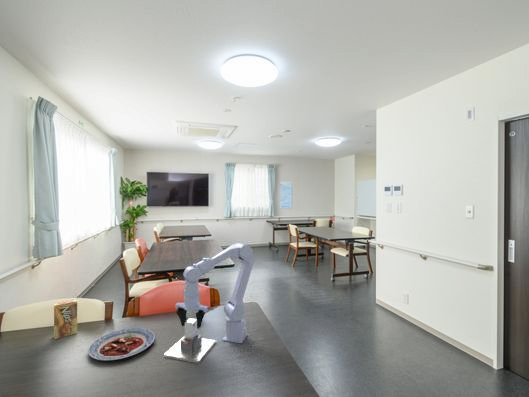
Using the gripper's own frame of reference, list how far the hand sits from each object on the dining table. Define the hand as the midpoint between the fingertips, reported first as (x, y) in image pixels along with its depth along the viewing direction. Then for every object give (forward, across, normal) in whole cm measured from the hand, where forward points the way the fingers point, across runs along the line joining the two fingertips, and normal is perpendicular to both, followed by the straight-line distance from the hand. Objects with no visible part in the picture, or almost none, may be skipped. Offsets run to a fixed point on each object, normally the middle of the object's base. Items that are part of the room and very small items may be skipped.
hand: (191, 326), depth 116 cm
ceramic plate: (+10, -30, -6) cm, 32 cm away
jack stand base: (+10, 0, 0) cm, 10 cm away
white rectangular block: (+6, 0, 0) cm, 6 cm away
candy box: (+10, -64, -5) cm, 65 cm away
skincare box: (+10, -16, +28) cm, 34 cm away
